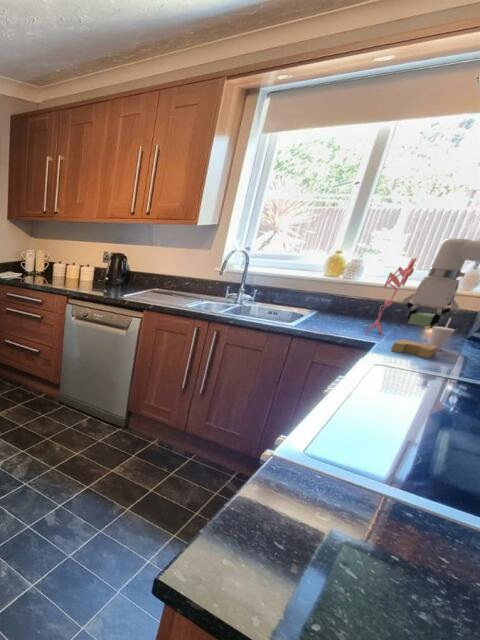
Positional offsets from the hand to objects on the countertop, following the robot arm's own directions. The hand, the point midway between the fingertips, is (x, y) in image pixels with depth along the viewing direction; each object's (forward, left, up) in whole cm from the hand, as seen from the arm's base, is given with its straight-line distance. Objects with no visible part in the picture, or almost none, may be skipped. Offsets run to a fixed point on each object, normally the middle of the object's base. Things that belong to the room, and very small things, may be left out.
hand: (421, 322), depth 161 cm
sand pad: (0, -10, -13) cm, 17 cm away
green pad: (0, -1, 0) cm, 1 cm away
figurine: (+15, -40, -14) cm, 45 cm away
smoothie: (-4, -23, -14) cm, 27 cm away
